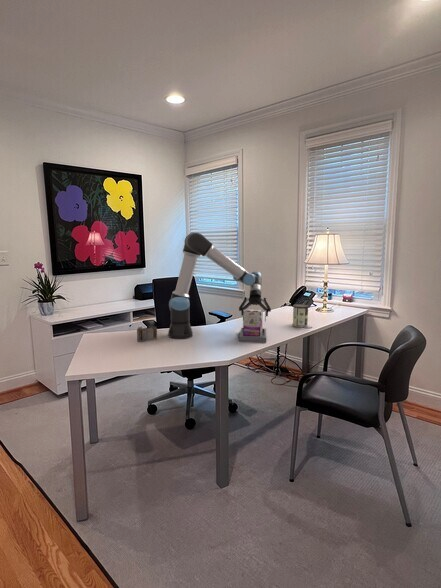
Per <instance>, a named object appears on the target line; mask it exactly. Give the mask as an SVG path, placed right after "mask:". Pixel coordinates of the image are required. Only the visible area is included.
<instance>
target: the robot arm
mask: <svg viewBox="0 0 441 588" xmlns="http://www.w3.org/2000/svg"><path fill="white" fill-rule="evenodd" d="M182 249H183V250H182V253H183V254H184V256H183V258H182V263H181V266H180V270H179V275H178V279H177V283H176V287H175V290H173V291H172V293H171V296H170V299H169V301H168V308H169V311H170V326H169V328H168V333H167V336H168V337H169V338H171V339H175V340H176V339H177V340H181V339H182V340H183V339H189V338H191V337H193V335H194V334H193V328H192V326H191V322H190V317H191V316H190V314H191V313H190V312H191V311H190V305H191V303H190V295H189V291H190V288H191V285H192V279H193V276H194V272H195V269H196V265H197V261H198V258H199V257H201V256H202V257H206V258H208V259H209V260H211V261H212V262H213V263H214V264H216V265H218V266H219V267H220V268H222V270H225V271H226V272H228V273H229V274H230V275H232V276H233V277H232V279H233V280H234V281H236V282H240V283H242V284H244V285H245V286H249V297H247V296H246V297H244V299H243V301H242V302H241V304H240V306H239V307H238V311H239V312H241V313H240V314H241V317H243V310H245V309H249V307H250V306H252V305H253V306H260V308H261V309H262V310H264V322H267V317H269V313H270V312H271V311H272V309H271V307H270V305H269V303H268V302H267V298H266V297H263V298H262V280H263V279H262V273H261V272H260V271H256V270H255V271H252V272H251V273H250V272H249V271H247V269H245V268H244V267H242V266H241V265H240V264H238V263H237V262H235V261H234V260H232V259H231V258H230V257H229V256H227V255H226V254H225V253H223V252H222V251H220V250H219V249H218V248H216V247H215V246H214V244H213V243H212V242H211V241H210V240H208V239H207V238H206V237H205V236H204V235H203V234H202V233H199V232H191V233H189V234H187V235H186V236H185V239H184V246H183V248H182Z"/></svg>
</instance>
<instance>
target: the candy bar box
mask: <svg viewBox="0 0 441 588" xmlns="http://www.w3.org/2000/svg"><path fill="white" fill-rule="evenodd" d="M263 310H264V309H262V310H261V309H251V308H247V309H245V310H243V316H242V328H243V336H254V337H262V328H263V321H264V320H263V315H264V314H263V313H264V311H263Z"/></svg>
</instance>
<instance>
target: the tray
mask: <svg viewBox="0 0 441 588" xmlns="http://www.w3.org/2000/svg"><path fill="white" fill-rule="evenodd" d="M238 341H239V342H245V343H246V342H249V343H250V342H251V343H267V328H263V327H262V337H254V336H243V327H240V331H239V335H238Z"/></svg>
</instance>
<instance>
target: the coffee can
mask: <svg viewBox="0 0 441 588" xmlns="http://www.w3.org/2000/svg"><path fill="white" fill-rule="evenodd" d="M292 306H293V309H292V326H294V327H298V328H305V327H308V323H309V321H308V320H309V316H308V314H309V305H308V304H304V303H303V304H301V303H298V304H297V303H295V304H293V305H292Z"/></svg>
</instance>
